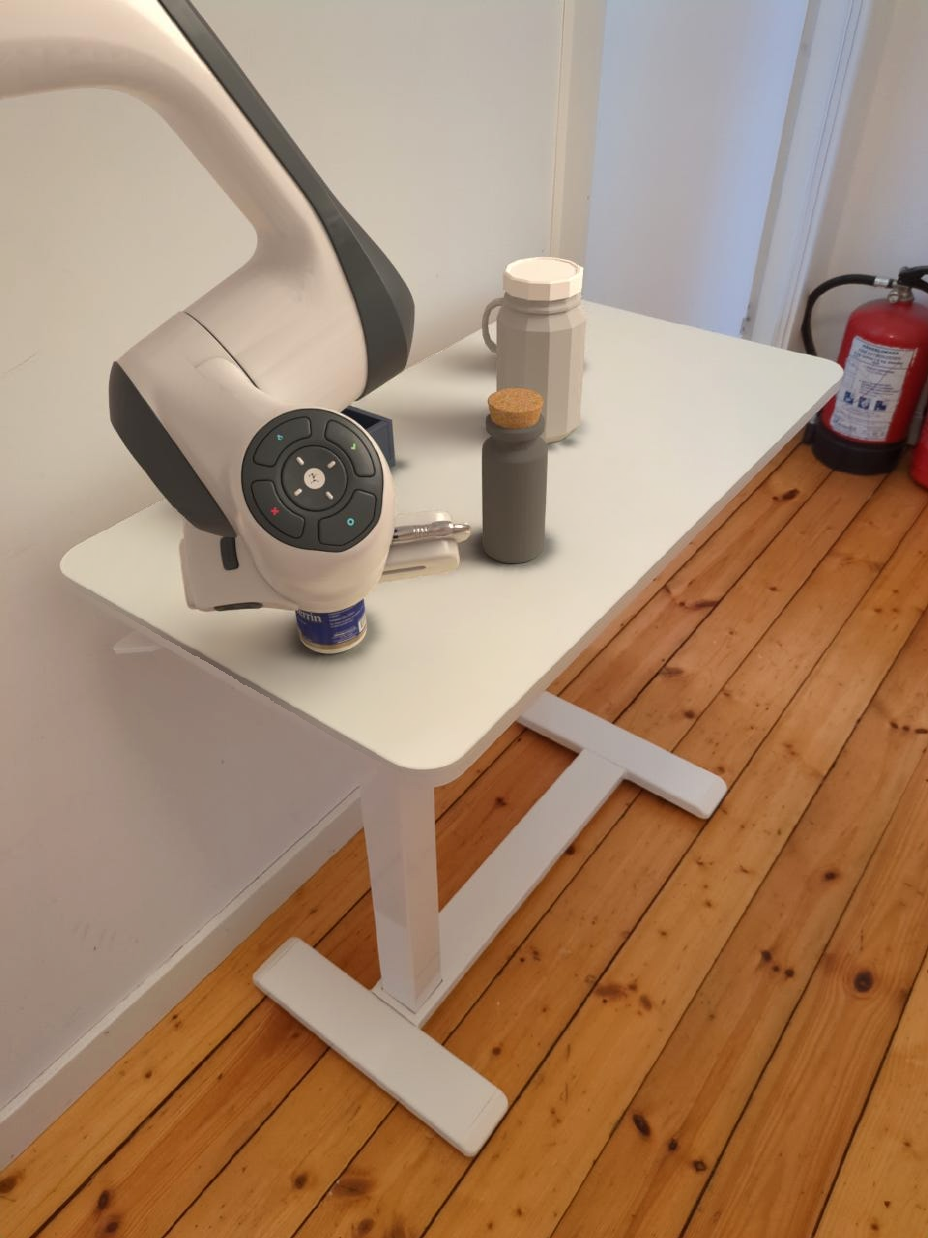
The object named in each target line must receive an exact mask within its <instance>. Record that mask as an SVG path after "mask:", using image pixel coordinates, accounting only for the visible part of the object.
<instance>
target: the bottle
mask: <svg viewBox="0 0 928 1238" xmlns="http://www.w3.org/2000/svg"><path fill="white" fill-rule="evenodd" d="M487 405H488V409H489V410H488V411H489V413H488V414H487V416H486V417H485V432H486V433H487V434H488V435H489V436H488V438H486V439H485V440H484V441H483V443H482V446H481V518H482V519H481V520H482V528H481V529H482V548H483V550H484V553H485V554H486V555H487V556H488V557H490V558H492V559H493V560H495V561H498V562H500V563H505V564H506V563H507V564H520V563H526V562H530V561H532V560H534V559H537V558H538V557H539V556H540V555H541V554H542V552H543V551H544V547H545V538H546V536H545V535H546V518H547V517H546V515H547V514H546V513H547V493H548V492H547V490H548V466H549V465H548V463H549V447H548V443H546V442H545V441H544V440H543V439H542V438H541V437H540V435H541V434H542V433H543V432H544V429H545V419H544V416H543V415H542V414H541V409H542V405H543V398H542V396H541V395H540V394H538V393H537V392H535V391H532V390H528V389H523V388H509V389H503V390H499V391H497V392H496V391H495V392H493V393H492V394H490V395H489V396H488V398H487Z"/></svg>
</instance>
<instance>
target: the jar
mask: <svg viewBox="0 0 928 1238" xmlns="http://www.w3.org/2000/svg"><path fill="white" fill-rule="evenodd" d="M583 274H584V267H582V266H581V265H579V264H578V263H576V262H574V261H572V260H569V259H565V258H560V257H553V256H552V257H551V256H535V257H528V258H520V259H517V260H515V261H513V262H511V263H509V264H506V265H504V268H503V272H502V290H503V291H504V293H503V296H502V298H503V302H504V304H503V305H502V306H500V308H499V309H498V312H497V314H496V320H495V322H496V325H495V327H496V329H495V331H496V336H495V337H496V338H495V339H496V340H495V341H496V342H495V344H496V354H495V356H496V361H495V362H496V363H495V364H496V365H495V367H496V368H495V369H496V371H495V372H496V374H495V375H496V387H495V388H496V391H495V392H497V391H499V390H503V389H509V388H523V389H528V390H532V391H535V392H537V393H538V394H540V395H541V396H542V398H543V405H542V409H541V414H542V415H543V416H544V419H545V429H544V432H543V433H542V434H541V435H540V437H541V438H542V439H543V440H544V441H545V442H546V443H547V444H549V443H554V442H559V441H562V440H564V439H566V438H567V437H568V436H570V435H571V434H573V432H575V430H576V429H577V428H578V427H579V426H580V422H581V421H580V420H581V409H582V394H583V393H582V392H583V376H584V361H585V360H584V359H585V347H586V345H585V344H586V330H587V329H586V328H587V317H588V316H587V315H588V313H587V310H586V309H585V308H584V306H583V304H582V297H583V296H582V295H583V294H582V293H581V292H582V286H583ZM579 292H580V293H579Z"/></svg>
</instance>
